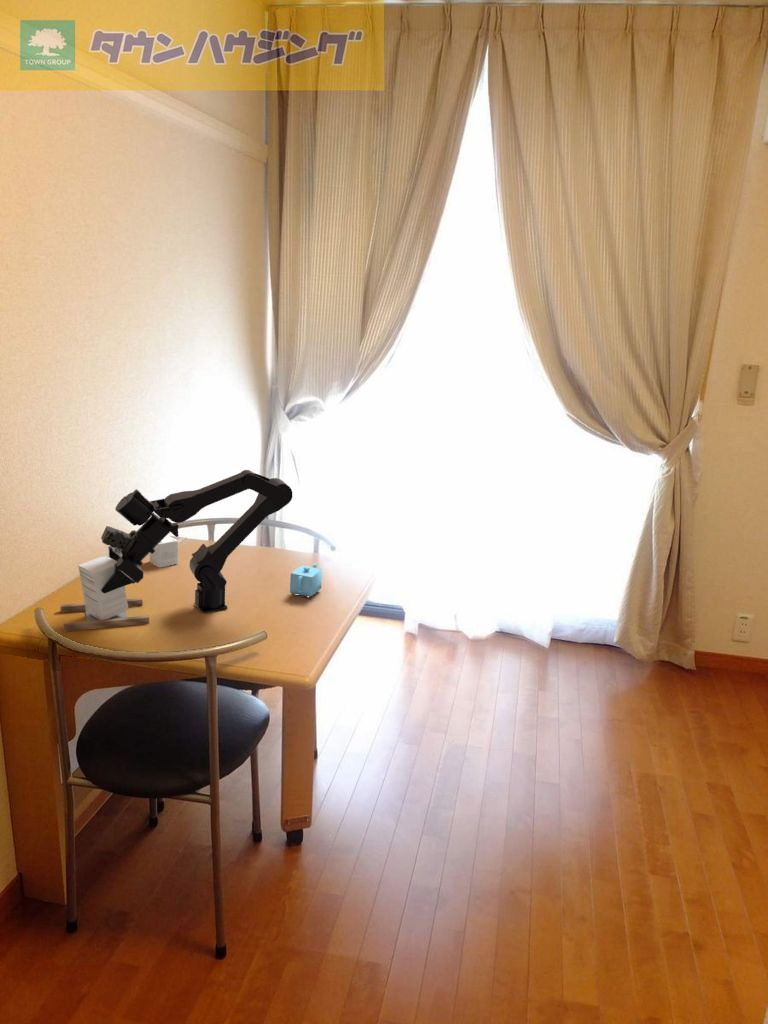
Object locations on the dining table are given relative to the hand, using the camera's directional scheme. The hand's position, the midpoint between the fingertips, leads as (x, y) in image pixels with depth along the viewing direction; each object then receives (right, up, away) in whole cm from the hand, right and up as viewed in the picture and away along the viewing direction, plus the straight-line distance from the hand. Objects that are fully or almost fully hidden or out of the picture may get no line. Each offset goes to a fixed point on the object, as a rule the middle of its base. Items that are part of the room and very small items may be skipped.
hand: (100, 585), depth 192 cm
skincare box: (+4, +2, +41) cm, 41 cm away
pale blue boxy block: (+46, -5, +27) cm, 54 cm away
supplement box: (+1, -7, +3) cm, 7 cm away
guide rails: (0, -8, +3) cm, 8 cm away
